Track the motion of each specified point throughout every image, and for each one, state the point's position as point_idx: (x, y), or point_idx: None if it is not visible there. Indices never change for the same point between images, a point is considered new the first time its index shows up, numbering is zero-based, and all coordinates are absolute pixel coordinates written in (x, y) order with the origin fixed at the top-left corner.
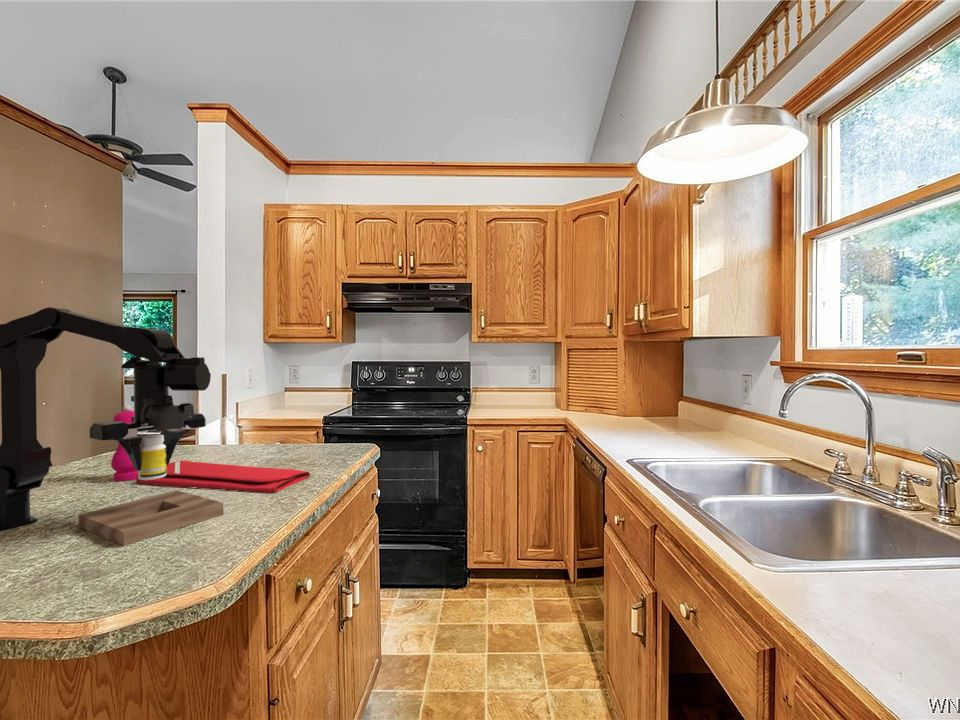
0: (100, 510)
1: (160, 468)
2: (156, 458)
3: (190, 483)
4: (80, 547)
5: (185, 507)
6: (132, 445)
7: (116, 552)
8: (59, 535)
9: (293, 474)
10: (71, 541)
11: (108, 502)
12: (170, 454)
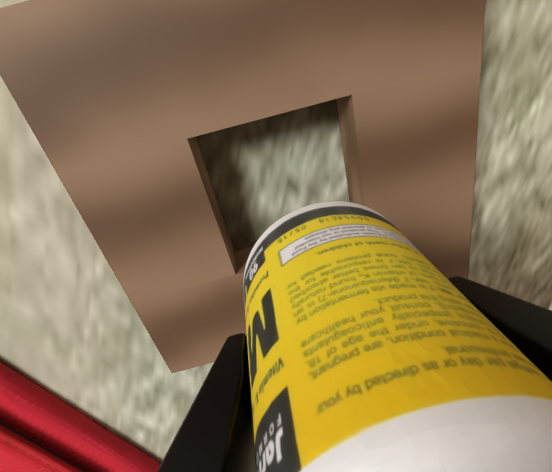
0: None
1: (312, 242)
2: (391, 295)
3: (119, 453)
4: (523, 54)
5: (172, 98)
6: None
7: None
8: (496, 233)
9: None
10: (507, 149)
11: None
12: (206, 412)
